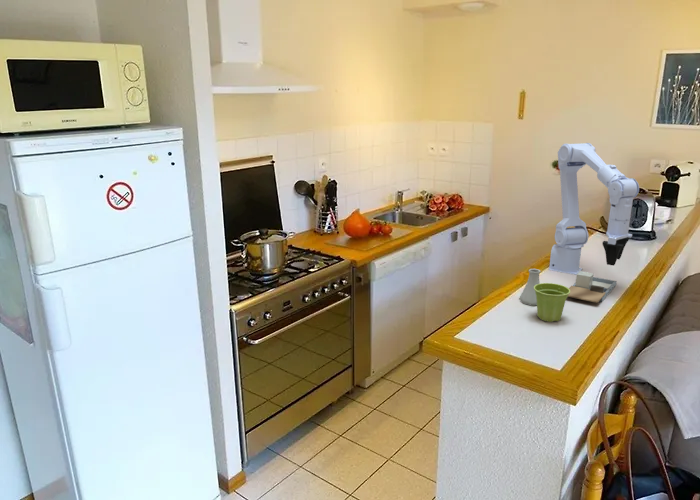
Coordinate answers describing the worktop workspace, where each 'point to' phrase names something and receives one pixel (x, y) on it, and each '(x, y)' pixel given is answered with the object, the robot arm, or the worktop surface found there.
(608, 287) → the tray
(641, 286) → the worktop surface
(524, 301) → the flask
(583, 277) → the block
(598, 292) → the door
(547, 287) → the plant pot
